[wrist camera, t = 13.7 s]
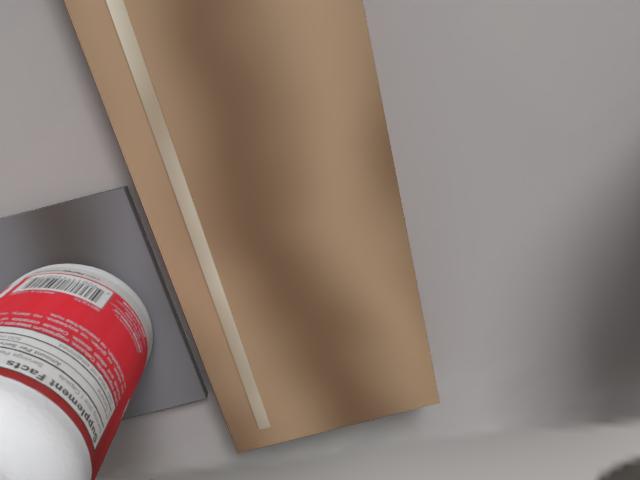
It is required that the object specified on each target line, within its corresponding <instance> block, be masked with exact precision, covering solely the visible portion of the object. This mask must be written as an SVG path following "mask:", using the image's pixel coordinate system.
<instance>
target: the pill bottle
mask: <svg viewBox="0 0 640 480" xmlns="http://www.w3.org/2000/svg"><path fill="white" fill-rule="evenodd" d="M152 343H153V330H152V324H151V320H150V317H149V314H148V312H147V309H146V307H145V306H144V304H143V302H142V301H141V299H140V298H139V297H138V295H137V294H136V293H135V292H134V291H133V290H132V289H131V288H130V287H129V286H128V285H127V284H126V283H124V282H123V281H122V280H120V279H119V278H117V277H115V276H114V275H112V274H110V273H108V272H106V271H104V270H101V269H98V268H95V267H91V266H86V265H80V264H55V265H49V266H45V267H42V268H39V269H36V270H33V271H31V272H29V273H27V274H25V275H23V276H22V277H20V278H19V279H17V280H16V281H14V282H13V283H12V284H10V285H9V286H8V287H6V288H5V289H4V290H3V291H2V292H0V480H95V478H96V475H97V473H98V471H99V469H100V466H101V464H102V462H103V460H104V457H105V455H106V453H107V451H108V448H109V446H110V444H111V442H112V440H113V437H114V435H115V433H116V431H117V429H118V426H119V424H120V421H121V419H122V417H123V415H124V413H125V411H126V408H127V406H128V404H129V402H130V400H131V397H132V395H133V393H134V391H135V389H136V386H137V384H138V382H139V380H140V378H141V376H142V373H143V371H144V369H145V367H146V364H147V361H148V359H149V356H150V353H151V349H152Z"/></svg>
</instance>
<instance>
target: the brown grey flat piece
mask: <svg viewBox="0 0 640 480" xmlns="http://www.w3.org/2000/svg"><path fill="white" fill-rule="evenodd" d="M64 2H65V5H66V8H67V10H68V13H69V15H70V18H71V21H72V23H73V26H74V28H75V31H76V34H77V36H78V39H79V41H80V44H81V47H82V49H83V52H84V54H85V57H86V60H87V62H88V65H89V67H90V70H91V73H92V75H93V78H94V80H95V83H96V86H97V88H98V91H99V93H100V96H101V99H102V101H103V104H104V106H105V109H106V112H107V114H108V117H109V119H110V122H111V125H112V127H113V130H114V132H115V135H116V138H117V140H118V143H119V145H120V148H121V151H122V153H123V156H124V158H125V161H126V164H127V166H128V169H129V171H130V174H131V177H132V179H133V182H134V184H135V187H136V190H137V192H138V195H139V197H140V200H141V203H142V205H143V208H144V210H145V213H146V216H147V218H148V221H149V223H150V226H151V229H152V231H153V234H154V236H155V239H156V242H157V244H158V247H159V249H160V252H161V255H162V257H163V260H164V262H165V265H166V268H167V270H168V273H169V275H170V278H171V281H172V283H173V286H174V288H175V291H176V294H177V296H178V299H179V301H180V304H181V307H182V309H183V312H184V314H185V317H186V320H187V322H188V325H189V327H190V330H191V333H192V335H193V338H194V340H195V343H196V346H197V348H198V351H199V353H200V356H201V359H202V361H203V364H204V366H205V369H206V372H207V374H208V377H209V379H210V382H211V385H212V387H213V390H214V392H215V395H216V398H217V400H218V403H219V405H220V408H221V411H222V413H223V416H224V418H225V421H226V424H227V426H228V429H229V431H230V434H231V437H232V439H233V442H234V444H235V447H236V450H237V452H238V453H241V452H245V451H249V450H253V449H257V448H261V447H265V446H269V445H273V444H277V443H281V442H285V441H289V440H293V439H297V438H301V437H305V436H309V435H313V434H317V433H321V432H325V431H329V430H333V429H337V428H341V427H345V426H349V425H353V424H357V423H361V422H365V421H369V420H373V419H377V418H381V417H385V416H389V415H392V414H396V413H400V412H404V411H408V410H412V409H416V408H420V407H424V406H428V405H432V404H436V403H440V401H439V396H438V391H437V386H436V381H435V375H434V370H433V365H432V360H431V354H430V349H429V344H428V339H427V334H426V328H425V323H424V318H423V313H422V308H421V302H420V297H419V292H418V287H417V281H416V276H415V271H414V266H413V261H412V255H411V250H410V245H409V240H408V235H407V229H406V224H405V219H404V214H403V208H402V203H401V198H400V193H399V188H398V182H397V177H396V172H395V167H394V162H393V156H392V151H391V146H390V141H389V135H388V130H387V125H386V120H385V115H384V109H383V104H382V99H381V94H380V89H379V83H378V78H377V73H376V68H375V63H374V57H373V52H372V47H371V42H370V36H369V31H368V26H367V21H366V16H365V10H364V5H363V0H64ZM55 264H80V265H86V266H91V267H95V268H98V269H101V270H104V271H106V272H108V273H110V274H112V275H114V276H115V277H117V278H119V279H120V280H122V281H123V282H124V283H126V284H127V285H128V286H129V287H130V288H131V289H132V290H133V291H134V292H135V293H136V294H137V295H138V297H139V298H140V299H141V301H142V302H143V304H144V306H145V307H146V309H147V312H148V314H149V317H150V320H151V324H152V330H153V343H152V349H151V353H150V356H149V359H148V361H147V364H146V367H145V369H144V371H143V373H142V376H141V378H140V380H139V382H138V384H137V386H136V389H135V391H134V393H133V395H132V397H131V400H130V402H129V404H128V406H127V408H126V411H125V413H124V415H123V417H122V419H121V420H123V419H127V418H131V417H135V416H139V415H143V414H147V413H151V412H155V411H159V410H163V409H167V408H171V407H175V406H179V405H182V404H186V403H190V402H194V401H198V400H202V399H206V398H207V394H208V392H207V390H206V387H205V385H204V382H203V380H202V377H201V374H200V372H199V369H198V367H197V364H196V362H195V359H194V356H193V354H192V351H191V349H190V346H189V344H188V341H187V339H186V336H185V333H184V331H183V328H182V326H181V323H180V321H179V318H178V316H177V313H176V310H175V308H174V305H173V303H172V300H171V298H170V295H169V292H168V290H167V287H166V285H165V282H164V280H163V277H162V275H161V272H160V269H159V267H158V264H157V262H156V259H155V257H154V254H153V251H152V249H151V246H150V244H149V241H148V239H147V236H146V234H145V231H144V228H143V226H142V223H141V221H140V218H139V216H138V213H137V211H136V208H135V205H134V203H133V200H132V198H131V195H130V193H129V190H128V187H127V186H124V187H120V188H117V189H113V190H109V191H105V192H101V193H97V194H93V195H89V196H86V197H82V198H78V199H74V200H70V201H66V202H62V203H58V204H55V205H51V206H47V207H43V208H39V209H35V210H31V211H27V212H23V213H20V214H16V215H12V216H8V217H4V218H0V292H2V291H3V290H4V289H5V288H6V287H8V286H9V285H10V284H12V283H13V282H14V281H16V280H17V279H19V278H20V277H22V276H23V275H25V274H27V273H29V272H31V271H33V270H36V269H39V268H42V267H45V266H49V265H55Z"/></svg>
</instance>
